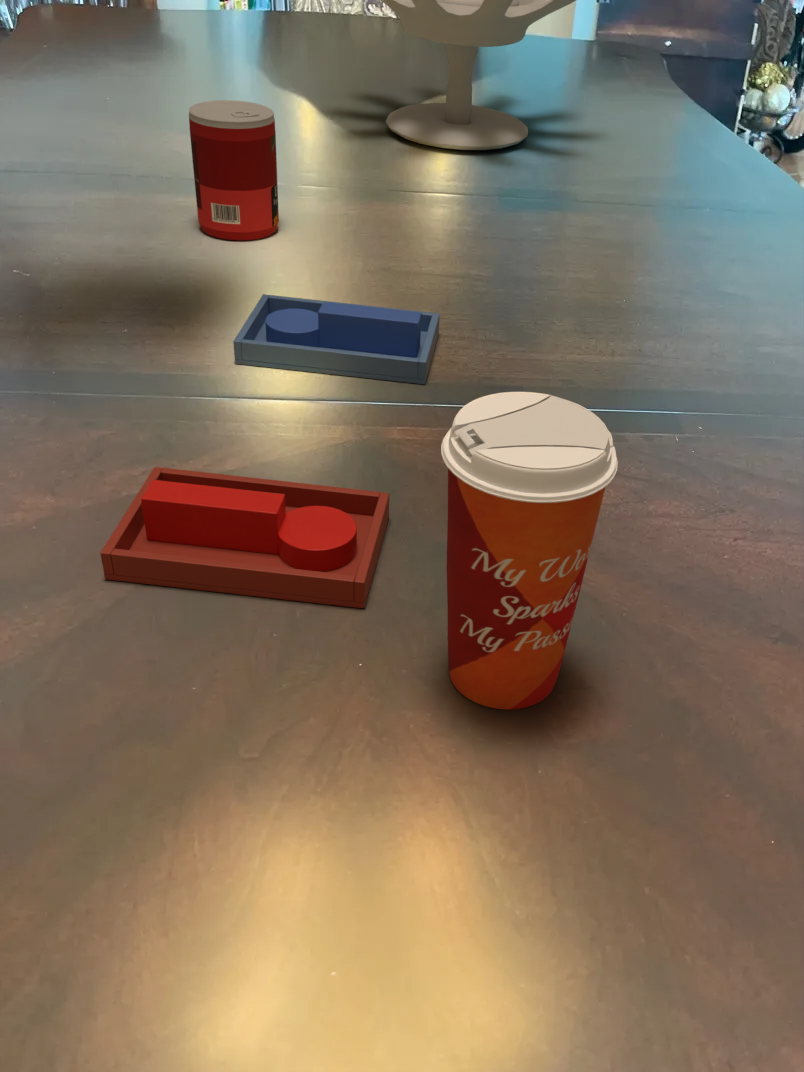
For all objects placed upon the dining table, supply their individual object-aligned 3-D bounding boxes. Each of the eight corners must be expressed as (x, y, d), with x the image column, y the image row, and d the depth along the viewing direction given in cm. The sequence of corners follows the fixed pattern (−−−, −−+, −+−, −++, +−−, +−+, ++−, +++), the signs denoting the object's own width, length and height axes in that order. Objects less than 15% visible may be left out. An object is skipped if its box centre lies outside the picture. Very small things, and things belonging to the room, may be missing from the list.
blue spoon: (422, 340, 88) (423, 305, 87) (414, 364, 85) (416, 329, 83) (273, 323, 89) (272, 289, 87) (260, 347, 85) (257, 312, 83)
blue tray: (234, 363, 83) (233, 341, 82) (264, 315, 91) (262, 293, 90) (425, 384, 83) (426, 362, 82) (438, 334, 91) (439, 313, 89)
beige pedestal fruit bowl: (381, 182, 121) (385, -105, 104) (294, 103, 145) (286, -142, 128) (634, 168, 133) (676, -91, 116) (515, 97, 157) (536, -126, 140)
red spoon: (139, 552, 63) (132, 510, 61) (164, 509, 66) (159, 468, 64) (349, 576, 62) (349, 534, 60) (362, 531, 66) (363, 490, 64)
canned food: (292, 235, 106) (288, 117, 99) (217, 246, 102) (207, 124, 95) (259, 211, 111) (253, 97, 103) (186, 220, 107) (175, 102, 100)
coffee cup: (462, 741, 53) (486, 486, 44) (405, 641, 59) (416, 397, 49) (606, 704, 56) (659, 458, 47) (539, 612, 62) (573, 377, 52)
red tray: (104, 579, 61) (99, 552, 60) (157, 491, 68) (154, 466, 67) (364, 608, 61) (364, 582, 60) (388, 517, 68) (389, 492, 67)
